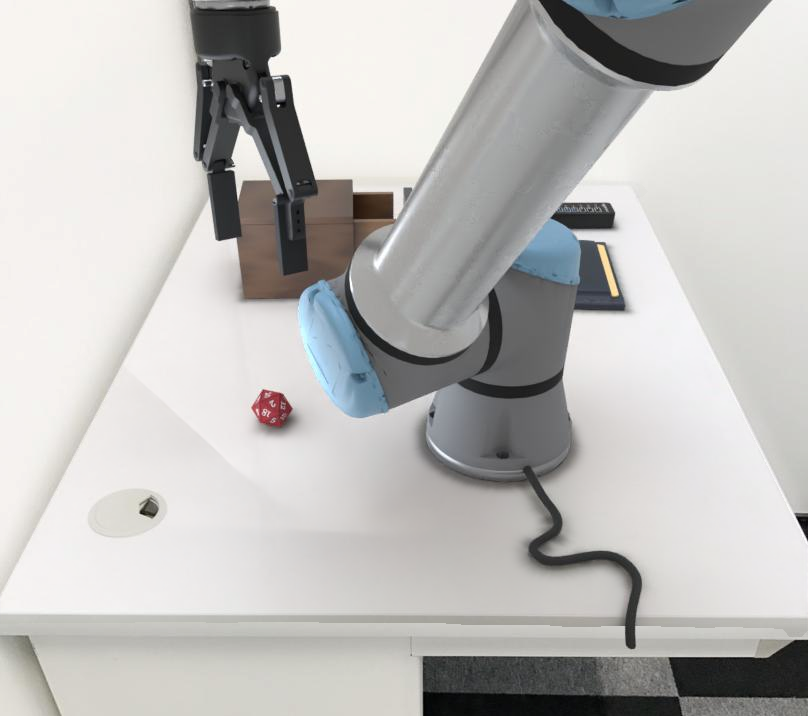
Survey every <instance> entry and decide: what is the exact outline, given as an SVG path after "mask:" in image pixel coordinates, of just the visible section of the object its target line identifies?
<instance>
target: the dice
mask: <svg viewBox="0 0 808 716" xmlns="http://www.w3.org/2000/svg"><path fill="white" fill-rule="evenodd" d="M250 409H251V410H252V412H253V414H254V415H255V417H256V418H257V420H258V422H259V424H262V425H263V424H264V425H266V426H273V427H277V428H282V427H283V425H284V424H285V422H286V421H287V419H288V418H289V416H290V414H291V412H292V411H293V407H292V405H291V404H290V402H289V400H288V399H287V398H286V396H285V394H284V393H282V392H280V391H279V392H278V391H273V390H269V389H264V388H262V389H261V391H260V392H259V395H258V396H257V398H256V399H255V401H254V402H253V404H252V406H251V407H250Z"/></svg>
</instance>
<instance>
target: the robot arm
mask: <svg viewBox="0 0 808 716" xmlns="http://www.w3.org/2000/svg"><path fill="white" fill-rule="evenodd" d="M192 1H193V2H194V7H193V8H192V9H191V12H189V15H190V24H191V25H190V26H191V31H192V40H193V47H194V52H195V54H196V55H197V57H199V58H201V59H204V61H196V62H195V76H196V78H195V79H196V102H195V116H194V117H195V120H194V133H193V150H192V151H193V152H192V154H193V159H194V161H195V162H201V165H202V169H203V171H204V172H207V173H206V179H207V185H208V193H209V201H210V208H211V216H212V217H211V218H212V223H213V230H214V239H215V240H216V241H217V242H222V241H227V240H233V239H236V238H238V237H242V233H241V224H240V215H239V206H238V199H239V197H238V191H237V190H238V189H237V183H236V172H235V170H232V169H231V168H236V164H235V161H234V160H233V158H232V157H233V154H234V150H235V147H236V143H237V141H238V140H237V139H238V138H239V137H238V136H239V132H240V129H241V127H242V128H243V131H244V133H245V134H246V135H248V136H250V137H251V138H252V139H253V142H254V144H255V147H256V149H257V152H258V154H259V157H260V159H261V161H262V164H263V166H264V169H265V171H266V173H267V176H268V178H269V180H271V183H272V185H273V188H274V190H275V192H276V195H275V197H274V199H273V201H272V204H273V207H274V218H275V229H276V240H277V251H278V262H279V273H280V274H281V275H282V276H286V275H291V274H295V273H299V272H304V271H308V259H307V245H306V227H305V213H304V202H305V200H307V199H308V198H311V197H315V196H317V195H318V187H317V184H316V180H317V179H316V177H315V173H314V170H313V166H312V162H311V160H310V155H309V153H308V149H307V146H306V145H307V144H306V141H305V138H304V135H303V132H302V128H301V123H300V120H299V116H298V114H297V110H296V107H295V99H294V93H293V85H292V84H293V83H292V79H291V76H290V75H289V74H279V75H278V74H277V75H272V74H271V71H270V70H271V69H270V66H269V61H270V60H271V58H275V57H277V56H279V55H280V54H281V52H282V38H281V25H280V13H279V12H280V11H279V10H277V7H276V6H275V5H271V0H192ZM771 2H773V0H516V1H515V2H514V4H513V6H512V7H511V9H510V12H509V13H508V15H507V16H506V18H505V20H504V22H503V24H502V26H501V27H500V30H499V31H498V33H497V35H496V37H495V39H494V40H493V42H492V44H491V46H490V48H489V50H488V52H487V53H486V55H485V57H484V58H483V60H482V62H481V64H480V66H479V68H478V69H477V71H476V74H475V75H474V77H473V79H472V80H471V82H470V84H469V85H468V87H467V90H466V91H465V93H464V95H463V97H462V99H461V101H460V102H459V104H458V106H457V107H456V110H455V112H454V113H453V115H452V117H451V119H450V121H449V123H448V125H447V127H446V128H445V130H444V131H443V133H442V136H441V137H440V139H439V141H438V143H437V145H436V146H435V148H434V150H433V152H432V154H431V155H430V157H429V158H428V161H427V163H426V165H425V166H424V168H423V170H422V172H421V173H420V174H419V175H420V176H419V177H418V179H417V181H416V182H415V185H414V186H413V187H412V192H411V194H410V195H409V197H408V199H407V201H406V203H405V205H404V206H403V205H402V208H401V210H400V212H399V213H398V216H397V217H396V218H395V219H396V221H395V223H394V224H391V225H387V226H384V227H382V228H380V229H377V230H376V231H374V232H373V233H371V234H370V235H369V236H368V237H366V238H365V239H364V240H363V242H362V243H361V244H360V245H359V247H358V248H357V250H356V252H355V254H354V256H353V258H352V260H351V261H350V263H349V265H348V267H347V269H346V271H345V273H344V274H342V275H341V276H339V277H337V278H335V279H332V280H329V281H325V280H320V281H318V283H316V284H314V285H312V286H310V287H308V288H307V289H305V291H304V292H303V293H302V295H301V297H300V298H299V301H298V307H297V308H298V309H297V317H298V325H299V330H300V336H301V340H302V342H303V346H304V349H305V353H306V355H307V358H308V360H309V363H310V366H311V368H312V370H313V372H314V374H315V377H316V379H317V380H318V382H319V384H320V386H321V388H322V389H323V391H324V392H325V394H326V395H327V397H328V398H329V400H330V401H331V402H332V403H333V405H334V406H336V407H337V409H339V410H340V411H341V412H342V413H344V415H347V416H349V417H351V418H354V419H366V418H369V417H372V416H377V415H380V414H383V415H384V414H387V413H389V411H390V410H392V409H395V408H397V407H400V406H402V405H405V404H407V403H410V402H413V401H415V400H417V399H419V398H422V397H425V396H427V395H429V394H432V393H435V394H434V397H433V399H432V402H431V404H430V407H429V409H428V411H427V415H426V421H425V441H426V444H427V447H428V448H429V450H430V452H431V453H432V454H433V456H434V457H435V458H436V459H437V460H438V461H440V462H441V463H442V464H444V465H445V466H446V467H448V468H450V469H451V470H454V471H456V472H458V473H460V474H463V475H465V476H469V477H471V478H475V479H480V480H486V481H493V482H514V481H515V482H516V481H523V480H528V482H529V483H530V486H531V487H532V489H533V491H534V493H535V494H536V496H537V497H538V499H539V501H540V502H541V504H542V505H543V506H544V508H545V509H546V510H547V511H548V513H549V514H550V516H551V518H552V521H553V525H552V527H551V528H549V530H547V531H546V532H544V533H542V534H540V535H539V536H537V537H536V538H534V539H532V540H531V541H530V543H529V545H528V553H529V554H530V556H531V558H532V559H534V560H535V561H536V562H537V563H540V564H542V565H544V566H550V567H556V566H557V567H560V566H567V565H569V566H570V565H575V564H579V563H584V562H585V563H586V562H592V561H609V562H613V563H615V564H617V565H618V566H620V567H621V568H622V569H623V570H625V571H626V572H627V573H628V574H629V576H630V578H631V591H630V594H629V598H628V602H627V606H626V612H625V618H624V620H625V621H624V641H625V643H624V644H625V647H626V648H627V649H629V650H635V649H636V647H637V641H636V619H637V612H638V607H639V603H640V600H641V599H640V598H641V593H642V589H643V578H642V575H641V573H640V571H639V570H638V568H637V566H636V565H634V563H633V562H632V561H631V560H630V559H628V558H627V557H625V556H624V555H622V554H620V553H618V552H614V551H611V550H590V551H583V552H578V553H573V554H567V555H566V554H565V555H560V556H559V555H558V556H557V555H556V556H552V555H547V554H544V553H542V552H541V551H540V550H539V548H540V547H541V546H543V545H545V544H546V543H548V542H550V541H551V540H553V539H554V538H556V537H557V536H558V535H559V534H560V532H561V531H562V529H563V525H564V523H563V516H562V513H561V512H560V510H559V509H558V508H557V506H556V505H555V503H554V502H553V501H552V500H551V499H550V497H549V495H547V493H546V491H545V489H544V487H543V486H542V483H541V482H540V481H539V479H538V477H539V476H542V475H544V474H546V473H548V472H550V471H552V470H554V469H555V468H557V467H558V466H559V465H560V464H561V463H562V462H563V461H564V460H565V459H566V457H567V455H568V454H569V451H570V448H571V442H572V438H573V437H572V436H573V426H572V425H573V424H572V423H573V422H572V418H571V414H570V412H569V409H568V402H567V397H566V392H565V385H564V380H563V378H564V370H565V365H566V359H567V355H568V354H567V353H568V349H569V348H568V347H569V341H570V336H571V329H572V323H573V318H574V311H575V309H574V306H575V300H576V294H577V288H578V284H579V282H580V276H579V266H580V256H581V249H580V243H579V241H578V240H579V238H578V237H577V235H576V234H575V233H574V232H573V231H572V230H571V228H567V227H566V226H564V225H563V224H561V223H559V222H557V221H555V220H553V219H550V218H551V217H552V215H553V214H554V213H555V212H556V210H557V209H558V208H559V207H560V206H561V204H562V203H565V201H566V200H567V199H568V197H569V196H571V193H572V192H573V191H574V190H575V189H576V188H577V187H578V185H579V184H580V182H582V180H583V179H584V178H585V177H586V175H587V174H588V173H589V171H591V169H593V167H594V166H595V164H596V163H597V162H598V161H599V159H600V158H601V157H602V156H603V154H604V153H605V152H606V151H607V149H608V148H609V147H610V146H611V145H612V144H613V142H614V141H615V140H616V138H617V137H618V136H619V135H620V134H621V133H622V131H623V130H624V129H625V128H626V126H628V124H629V123H630V122H631V120H632V119H633V118H634V117H635V115H636V114H637V113H638V112H639V111H640V109H641V108H642V107H643V106H644V104H645V103H646V102H647V101H648V100H649V99H650V97H651V96H652V94H653V93H654V92H672V91H679V90H683V89H687V88H689V87H692V86H694V85H695V84H697V83H698V82H700V81H702V79H703V78H705V77H706V76H707V75H708V74H709V73H710V72H711V71H712V70H713V68H714V67H715V66H716V65H717V64H718V63H719V62H720V60H721V59H722V58H723V57H724V56H725V55H726V54H727V53H728V51H729V50H730V49H731V48H732V47H733V46H734V45H735V44H736V43H737V41H738V40H739V39H740V37H742V36H743V34H744V33H745V32H746V31H747V29H748V28H749V27H750V26H751V25H752V24H753V23H754V22H755V21H756V19H757V18H758V17H759V16H760V15H761V13H762V12H763V11H764V10H765V9H766V8H767V7H768V5H770V4H771ZM204 146H205V147H204ZM226 169H227V170H226Z"/></svg>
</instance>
